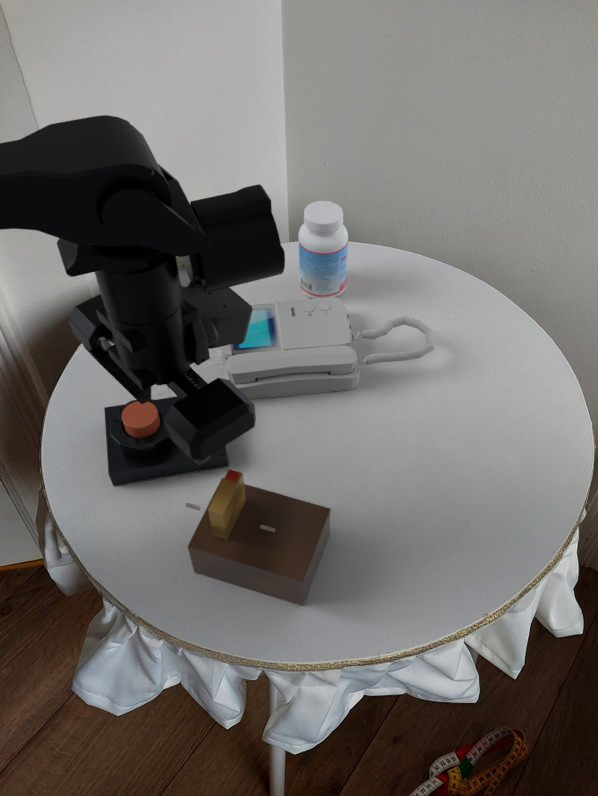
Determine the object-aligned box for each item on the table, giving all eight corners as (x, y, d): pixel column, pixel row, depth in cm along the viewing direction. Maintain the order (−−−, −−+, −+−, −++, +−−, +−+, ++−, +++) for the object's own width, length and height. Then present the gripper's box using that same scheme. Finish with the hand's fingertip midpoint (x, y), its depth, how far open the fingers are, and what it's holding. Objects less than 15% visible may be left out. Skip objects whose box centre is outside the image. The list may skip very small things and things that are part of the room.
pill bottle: (351, 297, 93) (356, 223, 84) (306, 306, 92) (306, 231, 83) (337, 267, 97) (340, 193, 88) (293, 275, 95) (292, 201, 86)
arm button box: (112, 486, 75) (104, 463, 71) (108, 420, 80) (100, 396, 77) (229, 466, 77) (225, 443, 73) (217, 403, 82) (213, 379, 79)
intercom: (446, 355, 81) (222, 376, 78) (440, 382, 85) (226, 402, 82) (420, 278, 89) (216, 294, 86) (416, 305, 93) (219, 321, 90)
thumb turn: (227, 540, 65) (222, 512, 62) (213, 536, 66) (207, 508, 62) (246, 500, 68) (243, 470, 64) (232, 495, 68) (228, 466, 65)
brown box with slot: (175, 566, 69) (167, 539, 65) (209, 500, 74) (203, 470, 70) (303, 606, 67) (302, 580, 63) (329, 535, 72) (330, 507, 68)
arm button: (126, 441, 74) (122, 430, 72) (123, 414, 76) (120, 403, 74) (161, 435, 74) (159, 424, 73) (158, 409, 76) (156, 398, 75)
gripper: (308, 318, 53) (307, 446, 65) (164, 200, 61) (187, 335, 73) (181, 391, 48) (206, 515, 61) (43, 253, 56) (90, 388, 69)
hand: (173, 430), depth 66 cm, fingers open, 9 cm apart
